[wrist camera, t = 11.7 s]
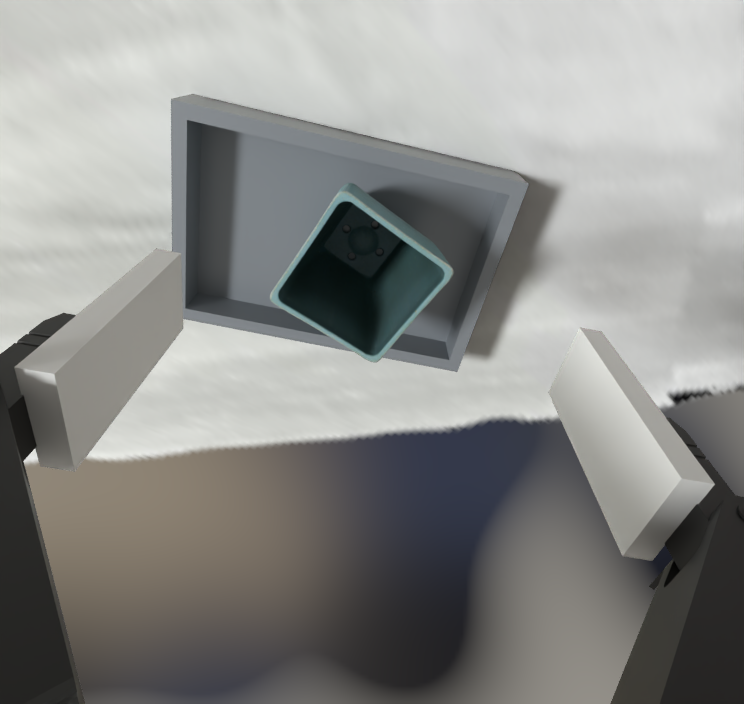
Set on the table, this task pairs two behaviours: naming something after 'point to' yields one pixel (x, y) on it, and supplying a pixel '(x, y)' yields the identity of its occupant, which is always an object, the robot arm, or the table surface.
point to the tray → (306, 207)
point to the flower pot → (362, 275)
